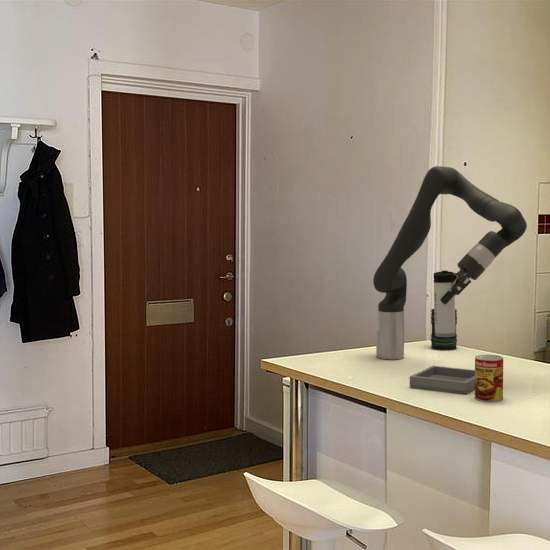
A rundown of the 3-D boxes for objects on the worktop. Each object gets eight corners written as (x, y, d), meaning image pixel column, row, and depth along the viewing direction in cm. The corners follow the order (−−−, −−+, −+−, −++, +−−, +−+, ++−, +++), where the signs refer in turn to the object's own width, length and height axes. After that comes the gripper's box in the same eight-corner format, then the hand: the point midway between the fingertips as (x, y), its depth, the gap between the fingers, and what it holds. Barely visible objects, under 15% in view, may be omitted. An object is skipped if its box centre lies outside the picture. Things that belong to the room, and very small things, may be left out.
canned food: (469, 398, 228) (469, 357, 227) (483, 393, 234) (484, 353, 233) (493, 403, 223) (494, 361, 222) (508, 397, 228) (508, 356, 227)
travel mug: (456, 334, 248) (455, 270, 246) (454, 337, 242) (452, 271, 240) (436, 333, 250) (434, 270, 248) (433, 337, 244) (432, 272, 242)
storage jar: (426, 347, 309) (425, 309, 307) (447, 345, 312) (447, 307, 311) (439, 351, 299) (439, 312, 298) (462, 349, 303) (462, 310, 302)
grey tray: (409, 387, 243) (409, 376, 243) (432, 376, 258) (432, 365, 257) (466, 394, 233) (466, 382, 233) (486, 382, 248) (486, 371, 248)
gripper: (460, 252, 251) (424, 291, 251) (475, 254, 237) (436, 295, 237) (477, 268, 252) (441, 306, 252) (492, 271, 238) (454, 312, 238)
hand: (439, 301), depth 245 cm, fingers closed on travel mug, 6 cm apart
